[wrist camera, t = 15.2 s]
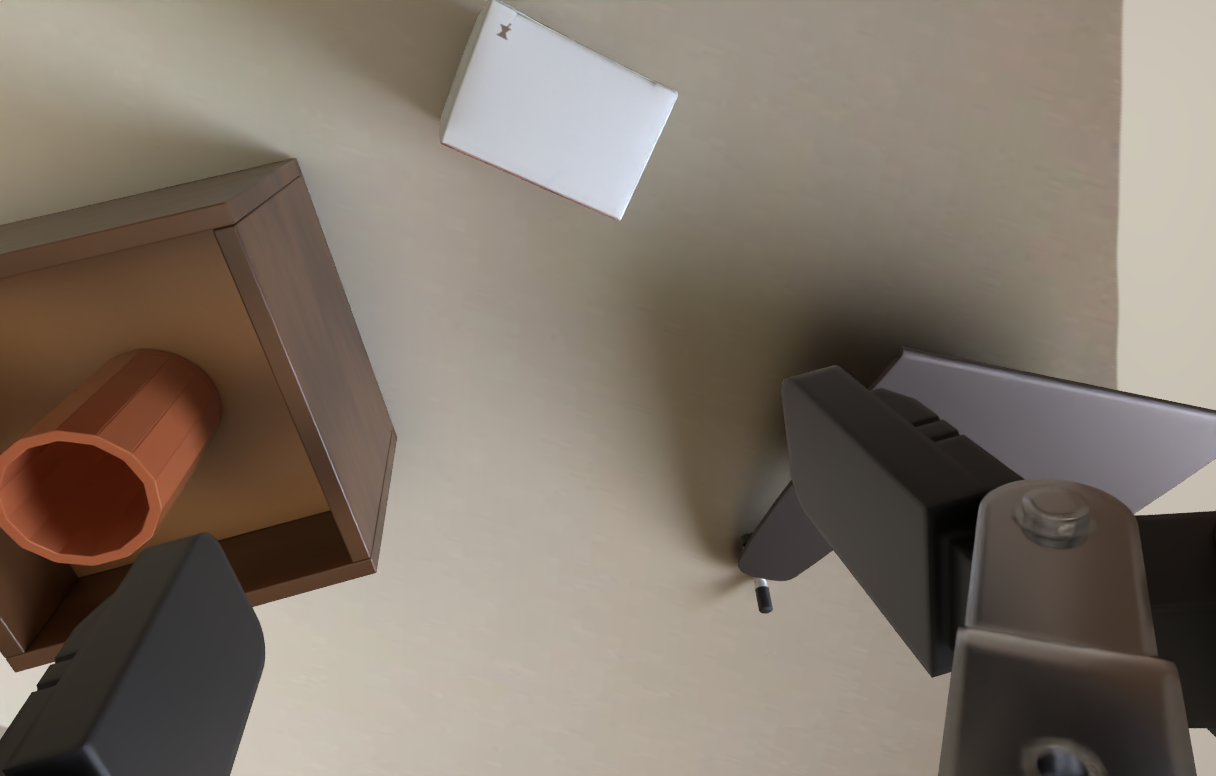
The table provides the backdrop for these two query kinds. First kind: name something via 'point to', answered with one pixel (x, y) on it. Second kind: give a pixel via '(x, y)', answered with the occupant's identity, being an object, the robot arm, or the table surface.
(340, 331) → the box
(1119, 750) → the robot arm
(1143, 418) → the laptop tray
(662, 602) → the table surface
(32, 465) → the cup
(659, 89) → the small box
